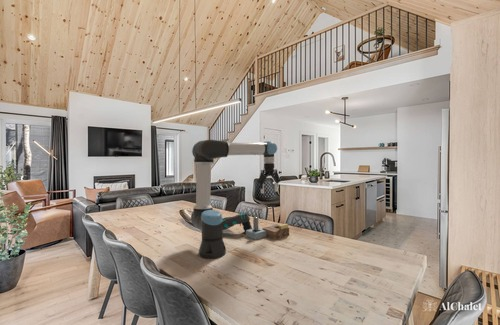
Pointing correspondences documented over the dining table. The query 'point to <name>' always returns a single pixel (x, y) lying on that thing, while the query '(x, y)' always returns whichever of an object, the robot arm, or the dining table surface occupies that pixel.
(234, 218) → the gun
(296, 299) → the dining table surface
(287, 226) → the tan rectangular bar
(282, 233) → the socket block
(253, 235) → the grey square holed block
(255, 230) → the steel round bar
